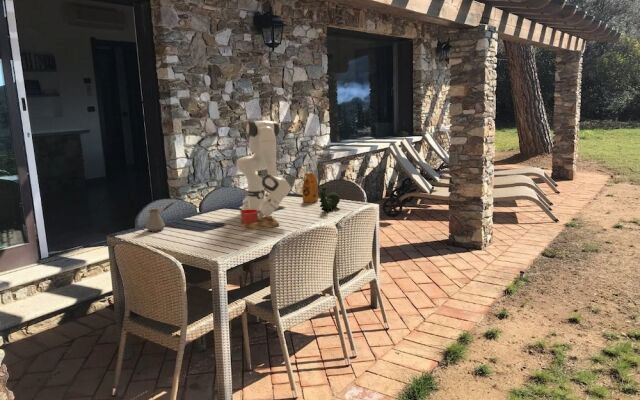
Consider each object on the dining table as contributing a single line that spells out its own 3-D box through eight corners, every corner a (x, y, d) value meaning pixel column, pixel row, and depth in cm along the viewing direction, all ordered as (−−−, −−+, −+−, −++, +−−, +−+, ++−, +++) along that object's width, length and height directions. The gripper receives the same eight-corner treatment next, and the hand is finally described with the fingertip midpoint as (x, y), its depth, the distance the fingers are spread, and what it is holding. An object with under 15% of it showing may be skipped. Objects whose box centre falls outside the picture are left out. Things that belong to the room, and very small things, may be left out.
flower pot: (261, 224, 315) (260, 209, 313) (254, 228, 304) (253, 213, 303) (246, 223, 318) (245, 208, 316) (238, 228, 308) (237, 212, 306)
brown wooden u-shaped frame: (274, 220, 324) (273, 215, 323) (279, 226, 308) (278, 220, 307) (241, 223, 318) (240, 218, 318) (244, 230, 302) (243, 224, 302)
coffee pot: (153, 233, 304) (151, 209, 301) (142, 231, 311) (139, 207, 308) (181, 225, 321) (179, 202, 318) (170, 223, 328) (168, 201, 325)
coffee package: (300, 202, 377) (299, 173, 373) (309, 199, 388) (307, 171, 383) (311, 203, 372) (310, 174, 368) (320, 200, 383) (318, 171, 378)
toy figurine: (329, 215, 336) (344, 205, 358) (327, 188, 331) (342, 179, 352) (317, 215, 341) (332, 204, 362) (314, 188, 335) (330, 179, 357)
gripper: (265, 195, 321) (251, 212, 321) (271, 201, 302) (256, 218, 301) (272, 201, 323) (259, 218, 323) (279, 207, 304) (264, 225, 303)
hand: (257, 218), depth 312 cm, fingers closed
